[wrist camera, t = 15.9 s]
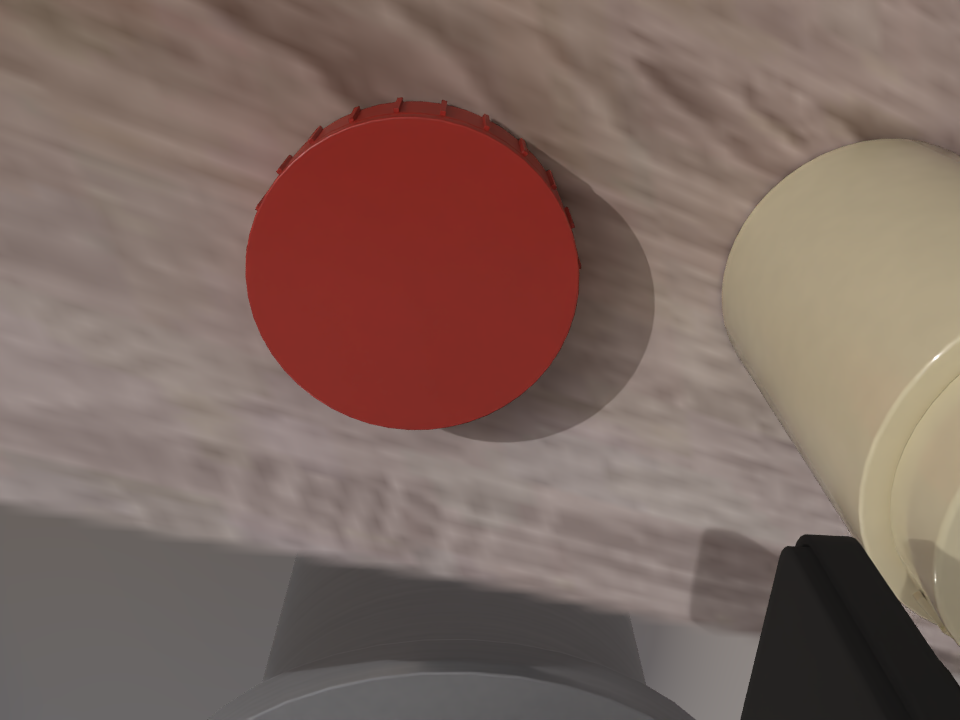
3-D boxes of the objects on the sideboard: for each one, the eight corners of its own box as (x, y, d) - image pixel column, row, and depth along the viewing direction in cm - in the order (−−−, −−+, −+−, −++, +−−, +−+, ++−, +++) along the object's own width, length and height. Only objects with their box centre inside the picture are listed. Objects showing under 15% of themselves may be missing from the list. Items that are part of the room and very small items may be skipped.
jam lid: (252, 87, 18) (232, 102, 17) (590, 107, 19) (601, 124, 17) (266, 388, 21) (250, 425, 20) (557, 402, 22) (564, 439, 20)
